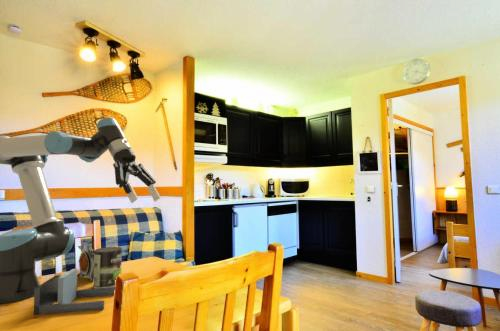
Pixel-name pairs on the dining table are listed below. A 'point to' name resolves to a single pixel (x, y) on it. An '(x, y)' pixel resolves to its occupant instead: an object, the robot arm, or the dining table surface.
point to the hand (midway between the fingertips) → (146, 200)
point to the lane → (49, 295)
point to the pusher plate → (67, 287)
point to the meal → (86, 262)
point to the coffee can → (107, 266)
